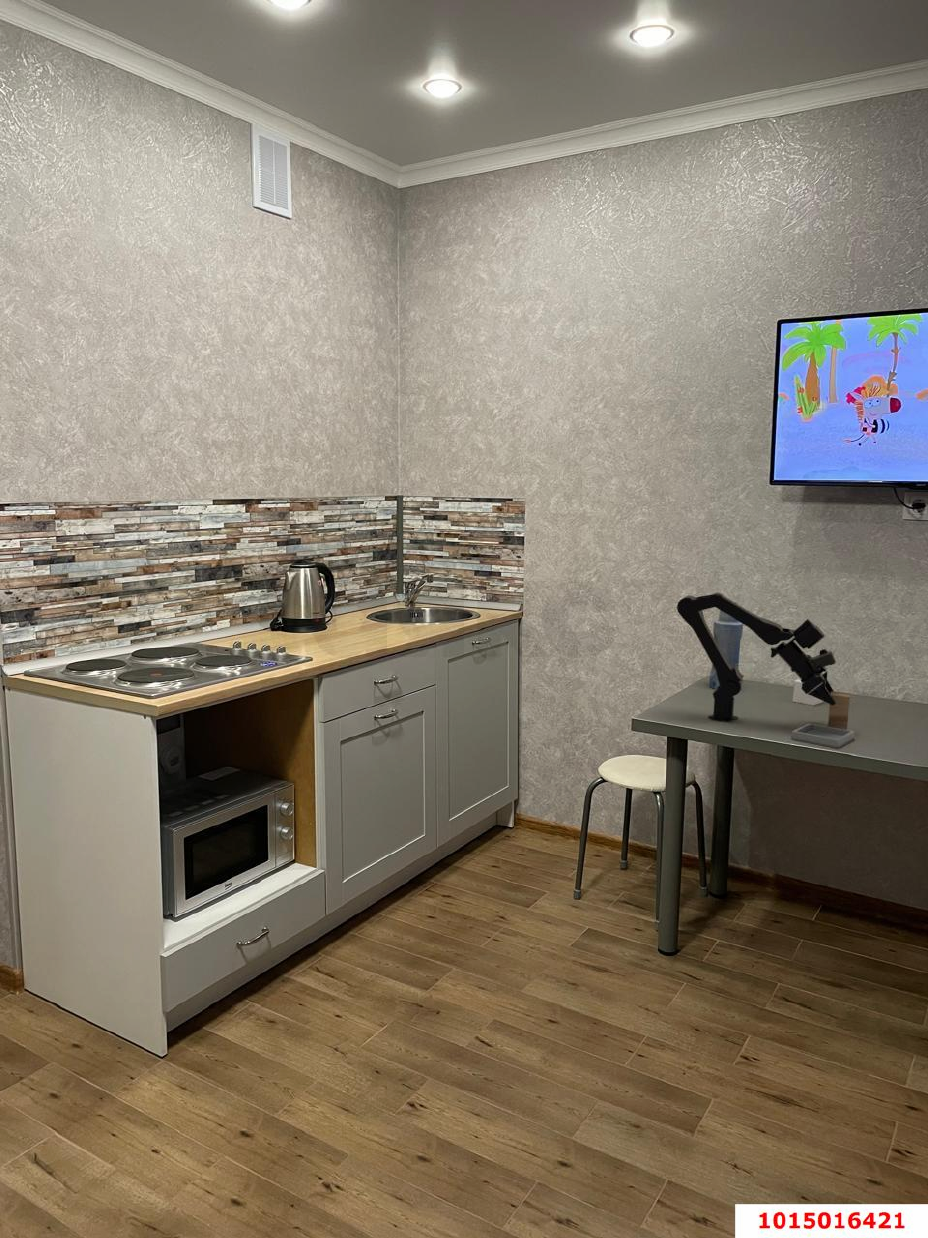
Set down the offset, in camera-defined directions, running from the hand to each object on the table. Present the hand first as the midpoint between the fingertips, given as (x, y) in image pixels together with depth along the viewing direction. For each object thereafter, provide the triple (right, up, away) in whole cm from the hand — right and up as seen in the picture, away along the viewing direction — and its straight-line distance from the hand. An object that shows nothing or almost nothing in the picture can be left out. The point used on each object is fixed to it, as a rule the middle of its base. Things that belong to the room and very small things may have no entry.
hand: (835, 701), depth 263 cm
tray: (-6, -10, -7) cm, 14 cm away
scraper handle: (+1, -9, +1) cm, 9 cm away
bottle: (-16, 0, +55) cm, 57 cm away
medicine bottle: (+6, -4, +36) cm, 37 cm away
